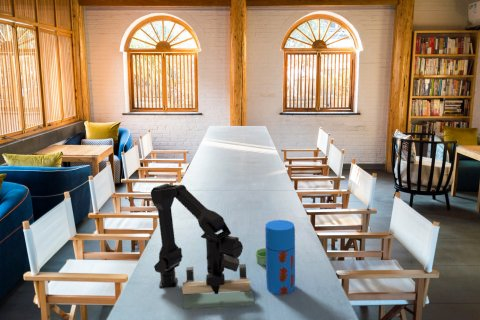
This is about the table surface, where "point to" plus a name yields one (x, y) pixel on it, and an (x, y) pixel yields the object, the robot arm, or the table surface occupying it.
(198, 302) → the mat
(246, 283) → the rail
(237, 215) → the table surface
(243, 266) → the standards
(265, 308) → the table surface
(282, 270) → the thermos
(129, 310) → the table surface
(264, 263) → the ramekin
